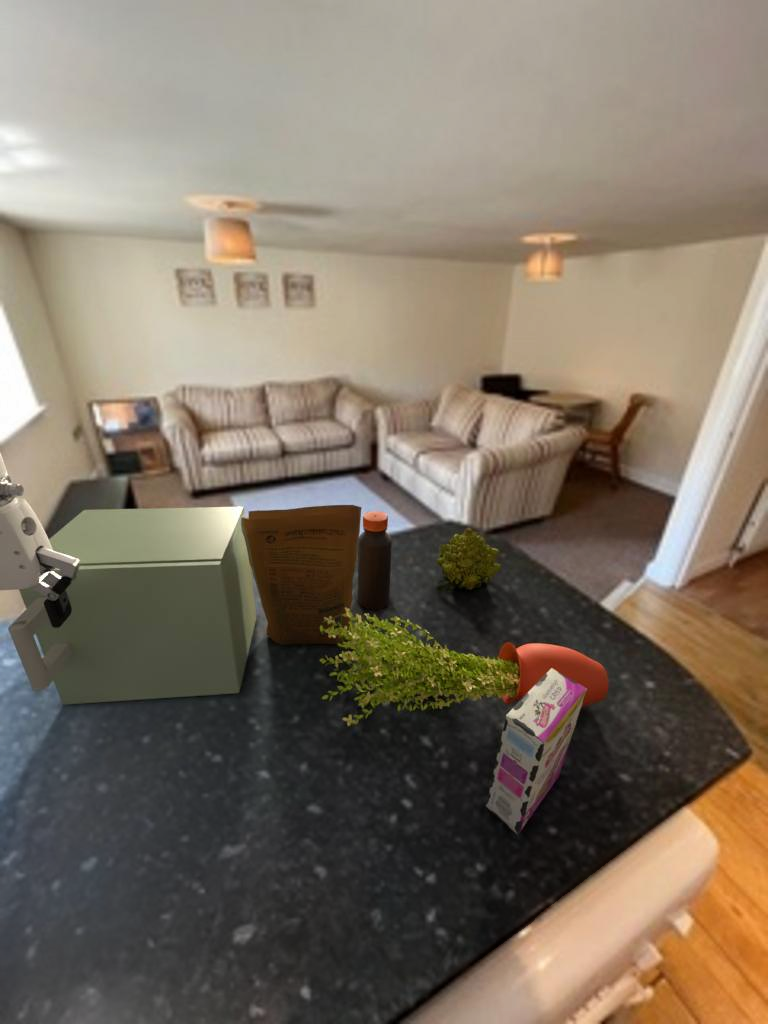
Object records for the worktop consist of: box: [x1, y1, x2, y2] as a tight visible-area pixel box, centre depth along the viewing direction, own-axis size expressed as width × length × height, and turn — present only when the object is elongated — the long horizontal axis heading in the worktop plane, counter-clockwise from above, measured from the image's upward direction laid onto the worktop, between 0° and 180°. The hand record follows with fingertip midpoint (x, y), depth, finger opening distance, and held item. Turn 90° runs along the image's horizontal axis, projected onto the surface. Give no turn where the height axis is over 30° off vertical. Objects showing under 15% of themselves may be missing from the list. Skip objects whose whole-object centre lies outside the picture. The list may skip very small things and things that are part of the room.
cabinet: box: [48, 506, 257, 688], centre depth 74 cm, size 18×26×24 cm
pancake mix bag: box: [241, 504, 362, 646], centre depth 78 cm, size 7×19×28 cm, turn 93°
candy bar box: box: [485, 668, 587, 836], centre depth 55 cm, size 11×5×16 cm, turn 134°
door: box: [7, 561, 241, 705], centre depth 62 cm, size 8×26×24 cm, turn 96°
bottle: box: [357, 510, 393, 610], centre depth 91 cm, size 7×7×20 cm
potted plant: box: [319, 607, 610, 727], centre depth 72 cm, size 19×14×45 cm
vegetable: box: [435, 527, 502, 592], centre depth 101 cm, size 15×16×15 cm
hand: (20, 623), depth 55 cm, fingers open, 9 cm apart
